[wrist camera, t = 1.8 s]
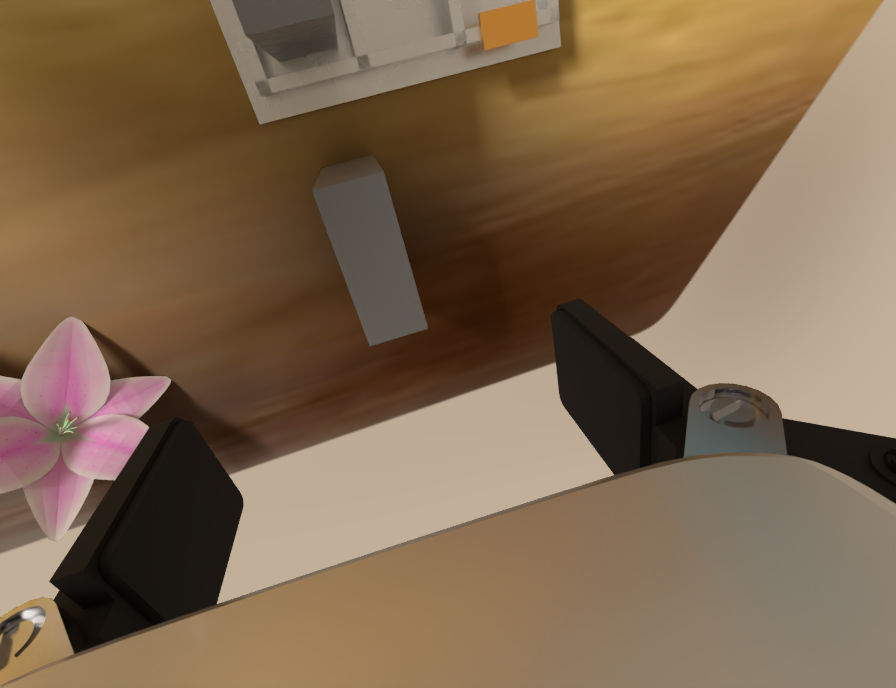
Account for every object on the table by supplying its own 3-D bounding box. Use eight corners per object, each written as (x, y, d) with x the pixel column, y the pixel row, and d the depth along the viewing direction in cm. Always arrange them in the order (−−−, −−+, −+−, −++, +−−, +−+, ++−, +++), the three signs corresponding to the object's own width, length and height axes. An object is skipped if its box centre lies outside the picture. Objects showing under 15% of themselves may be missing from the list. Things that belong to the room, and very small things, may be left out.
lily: (215, 438, 34) (210, 471, 26) (44, 529, 30) (-31, 607, 21) (132, 303, 32) (96, 291, 23) (-70, 380, 27) (-208, 400, 19)
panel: (321, 168, 26) (311, 191, 18) (372, 154, 26) (383, 171, 18) (363, 286, 30) (369, 346, 22) (406, 273, 30) (427, 328, 22)
